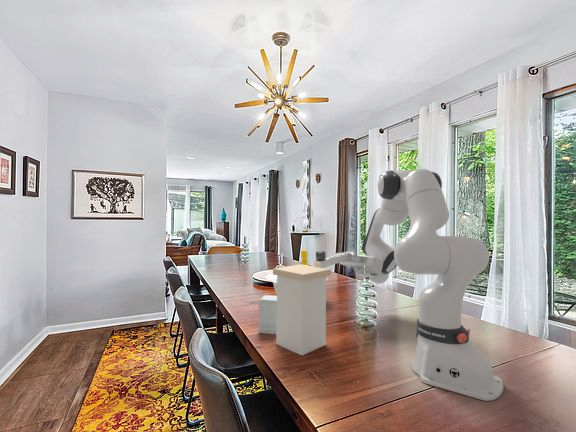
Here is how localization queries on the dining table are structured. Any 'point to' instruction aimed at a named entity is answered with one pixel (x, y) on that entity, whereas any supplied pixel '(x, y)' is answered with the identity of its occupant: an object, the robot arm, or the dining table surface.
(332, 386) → the dining table surface
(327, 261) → the aluminium bar
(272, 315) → the supplement box
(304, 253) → the figure statuette
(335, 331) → the dining table surface
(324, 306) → the pedestal
